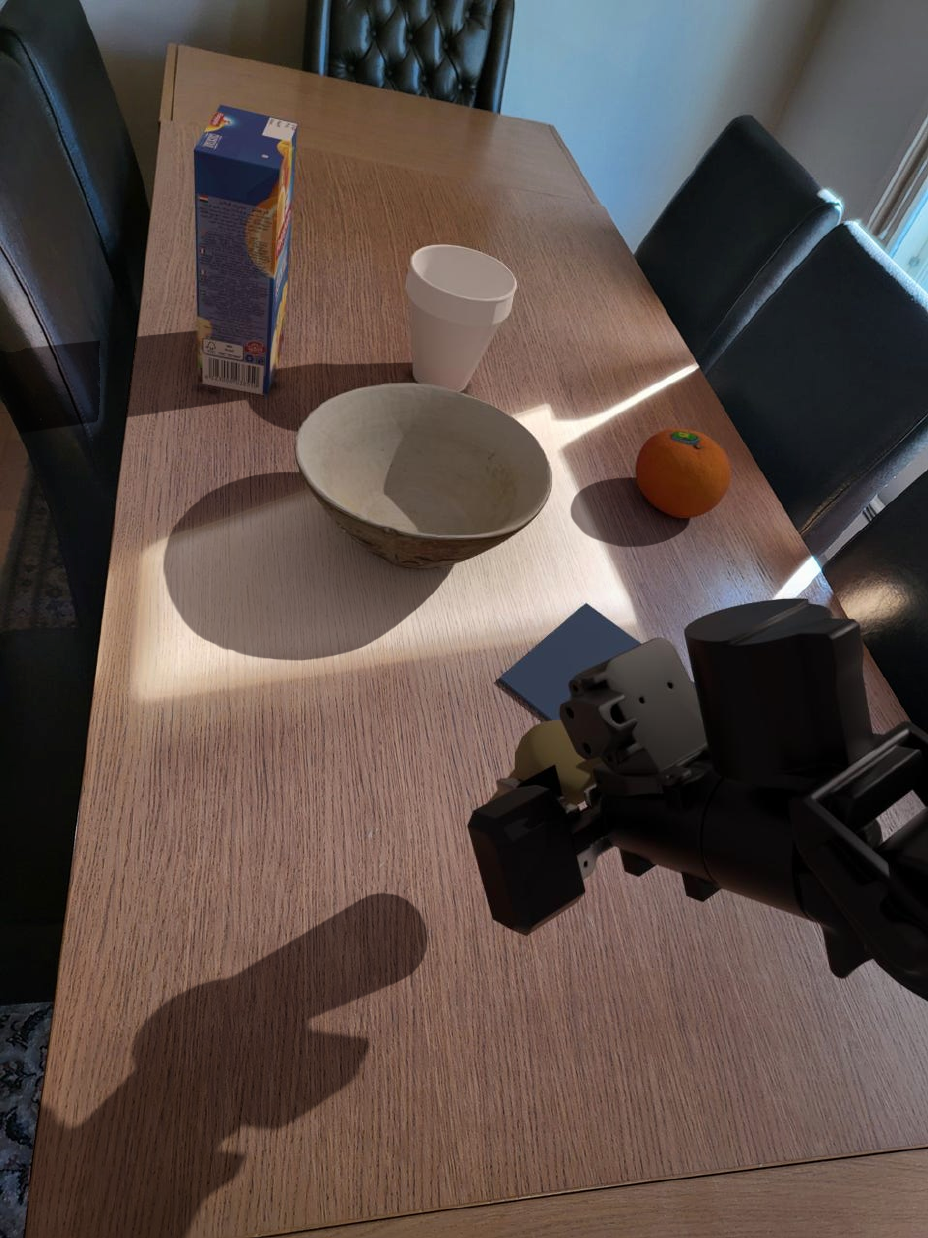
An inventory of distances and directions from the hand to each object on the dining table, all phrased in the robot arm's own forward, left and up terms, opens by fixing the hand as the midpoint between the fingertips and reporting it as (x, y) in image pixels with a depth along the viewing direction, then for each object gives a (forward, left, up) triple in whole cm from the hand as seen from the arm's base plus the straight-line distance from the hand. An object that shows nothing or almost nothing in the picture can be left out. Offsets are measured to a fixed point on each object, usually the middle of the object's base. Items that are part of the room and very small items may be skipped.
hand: (533, 769), depth 51 cm
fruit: (+13, -50, -13) cm, 53 cm away
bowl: (+28, -22, -13) cm, 38 cm away
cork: (-1, 0, -7) cm, 7 cm away
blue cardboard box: (+58, -27, -13) cm, 66 cm away
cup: (+44, -45, -13) cm, 64 cm away
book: (+2, -21, -13) cm, 25 cm away
